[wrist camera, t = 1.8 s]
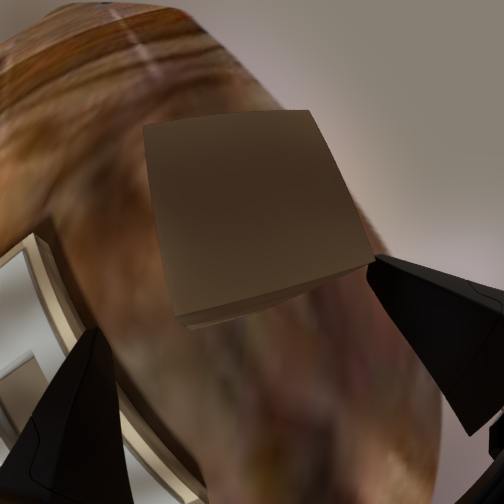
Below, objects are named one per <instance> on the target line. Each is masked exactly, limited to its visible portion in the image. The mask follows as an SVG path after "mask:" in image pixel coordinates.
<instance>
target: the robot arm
mask: <svg viewBox="0 0 504 504" xmlns="http://www.w3.org/2000/svg"><path fill="white" fill-rule="evenodd" d="M374 257H375V260H376V261H374V262H372V263H370V264H368V269H367V274H366V279H367V282H368V284H369V285H370V287H371V288H372V290H373V291H374V293H375V295H376V296H377V298H378V299H379V301H380V303H381V304H382V306H383V308H384V309H385V311H386V312H387V314H388V315H389V317H390V318H391V319H392V321H393V322H394V323H395V325H396V326H397V327H398V329H399V330H400V332H401V333H402V334H403V336H404V337H405V339H406V340H407V341H408V343H409V344H410V346H411V347H412V348H413V350H414V351H415V353H416V354H417V355H418V357H419V358H420V360H421V361H422V363H423V364H424V366H425V367H426V369H427V370H428V372H429V373H430V375H431V376H432V378H433V379H434V381H435V382H436V384H437V385H438V387H439V388H440V390H441V391H442V393H443V394H444V396H445V398H446V400H447V401H448V403H449V404H450V406H451V408H452V409H453V411H454V412H455V414H456V416H457V417H458V419H459V421H460V422H461V424H462V426H463V428H464V429H465V431H466V433H467V434H468V436H472V435H473V434H474V433H475V432H476V431H478V430H479V429H480V428H481V427H482V426H483V425H485V424H486V423H487V422H488V421H489V420H490V419H491V418H492V417H493V416H494V415H495V414H496V413H497V412H498V411H500V409H501V410H502V412H501V413H500V415H499V416H498V417H497V419H496V420H495V421H494V422H493V424H492V425H491V426H490V427H489V454H490V456H491V457H492V458H493V460H494V462H493V463H492V464H491V465H490V466H489V468H488V469H487V470H486V471H485V472H484V474H483V475H482V476H481V477H480V478H479V479H478V480H477V481H476V482H475V484H474V485H473V486H472V487H471V488H470V489H469V490H468V491H467V492H466V493H465V494H464V495H463V496H462V497H461V498H460V499H459V500H458V501H457V502H456V503H455V504H504V291H503V290H499V289H496V288H492V287H488V286H485V285H482V284H478V283H475V282H472V281H469V280H465V279H462V278H460V277H456V276H453V275H450V274H446V273H444V272H440V271H437V270H434V269H431V268H427V267H424V266H421V265H417V264H414V263H411V262H407V261H404V260H401V259H397V258H394V257H390V256H387V255H383V254H377V255H374ZM0 504H134V500H133V496H132V491H131V486H130V481H129V476H128V471H127V465H126V459H125V452H124V445H123V438H122V429H121V420H120V408H119V397H118V391H117V385H116V379H115V372H114V366H113V358H112V351H111V348H110V345H109V343H108V342H107V340H106V338H105V336H104V334H103V332H102V330H101V329H100V328H99V327H91V328H87V329H86V330H85V331H84V332H83V334H82V335H81V336H80V338H79V339H78V341H77V342H76V344H75V345H74V347H73V348H72V350H71V351H70V353H69V354H68V355H67V357H66V358H65V360H64V362H63V363H62V365H61V366H60V368H59V369H58V371H57V372H56V374H55V375H54V377H53V379H52V380H51V382H50V383H49V385H48V387H47V388H46V390H45V392H44V393H43V395H42V397H41V398H40V400H39V402H38V403H37V405H36V407H35V409H34V410H33V412H32V416H30V417H29V419H28V421H27V423H26V425H25V426H24V428H23V430H22V432H21V434H20V435H19V437H18V439H17V441H16V442H15V444H14V446H13V447H12V449H11V451H10V452H9V454H8V456H7V457H6V459H5V460H4V462H3V464H2V465H1V467H0Z"/></svg>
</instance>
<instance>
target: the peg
mask: <svg viewBox="0 0 504 504" xmlns="http://www.w3.org/2000/svg"><path fill="white" fill-rule="evenodd" d="M143 134H144V145H145V154H146V163H147V171H148V179H149V186H150V193H151V200H152V207H153V213H154V219H155V225H156V230H157V236H158V241H159V247H160V252H161V257H162V262H163V266H164V271H165V276H166V280H167V285H168V289H169V294H170V298H171V302H172V306H173V310H174V314H175V317H176V318H177V319H178V320H179V321H180V322H182V323H183V324H184V325H185V326H186V327H187V328H188V329H189V330H190V331H191V330H195V329H199V328H203V327H207V326H211V325H215V324H218V323H222V322H226V321H230V320H234V319H237V318H241V317H245V316H248V315H252V314H254V313H257V312H260V311H262V310H265V309H267V308H270V307H272V306H274V305H277V304H279V303H282V302H284V301H287V300H289V299H291V298H294V297H296V296H299V295H301V294H303V293H306V292H308V291H310V290H313V289H315V288H317V287H319V286H322V285H324V284H326V283H328V282H331V281H333V280H335V279H337V278H340V277H342V276H344V275H346V274H348V273H351V272H353V271H355V270H357V269H359V268H361V267H363V266H366V265H368V264H370V263H372V262H374V261H376V260H375V257H374V254H373V251H372V248H371V246H370V243H369V240H368V237H367V235H366V232H365V230H364V227H363V224H362V222H361V219H360V217H359V214H358V212H357V209H356V207H355V205H354V202H353V200H352V197H351V195H350V193H349V190H348V188H347V186H346V184H345V181H344V179H343V177H342V175H341V173H340V170H339V168H338V166H337V164H336V162H335V160H334V158H333V156H332V154H331V152H330V149H329V148H328V145H327V143H326V141H325V140H324V137H323V136H322V134H321V132H320V130H319V128H318V126H317V124H316V122H315V120H314V118H313V117H312V115H311V113H310V111H309V110H272V111H252V112H237V113H226V114H216V115H207V116H199V117H192V118H185V119H178V120H172V121H166V122H160V123H155V124H150V125H145V126H143Z"/></svg>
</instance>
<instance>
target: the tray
mask: <svg viewBox="0 0 504 504" xmlns="http://www.w3.org/2000/svg"><path fill="white" fill-rule="evenodd" d="M85 330H86V329H85V327H84V325H83V323H82V321H81V319H80V317H79V315H78V313H77V311H76V309H75V307H74V305H73V303H72V301H71V298H70V296H69V294H68V292H67V290H66V287H65V285H64V283H63V280H62V278H61V275H60V273H59V271H58V268H57V265H56V263H55V260H54V258H53V255H52V252H51V249H50V247H49V245H48V244H47V243H46V242H44V241H43V240H42V239H41V238H39V237H38V236H37V235H35V234H34V233H32V234H30V235H29V236H28V237H26V238H25V239H24V240H22V241H21V242H20V243H19V244H17V245H16V246H15V247H14V248H12V249H11V250H10V251H9V252H7V253H6V254H5V255H4V256H3V257H1V258H0V466H1V465H2V464H3V462H4V460H5V459H6V457H7V456H8V454H9V452H10V451H11V449H12V447H13V446H14V444H15V442H16V441H17V439H18V437H19V435H20V434H21V432H22V430H23V428H24V426H25V425H26V423H27V421H28V419H29V417H30V416H32V412H33V410H34V409H35V407H36V405H37V403H38V402H39V400H40V398H41V397H42V395H43V393H44V392H45V390H46V388H47V387H48V385H49V383H50V382H51V380H52V379H53V377H54V375H55V374H56V372H57V371H58V369H59V368H60V366H61V365H62V363H63V362H64V360H65V358H66V357H67V355H68V354H69V353H70V351H71V350H72V348H73V347H74V345H75V344H76V342H77V341H78V339H79V338H80V336H81V335H82V334H83V332H84V331H85ZM116 385H117V391H118V397H119V408H120V420H121V429H122V438H123V445H124V452H125V459H126V465H127V471H128V476H129V481H130V486H131V491H132V496H133V500H134V504H209V500H208V493H207V489H206V488H205V487H204V486H203V485H202V484H201V483H200V482H199V481H198V480H197V479H196V478H195V477H194V476H193V475H192V474H191V473H190V472H189V471H188V470H187V469H186V468H185V467H184V466H183V465H182V464H181V463H180V462H179V461H178V459H177V458H176V457H175V456H174V455H173V454H172V453H171V452H170V451H169V450H168V448H167V447H166V446H165V445H164V444H163V443H162V441H161V440H160V439H159V438H158V437H157V436H156V434H155V433H154V432H153V431H152V429H151V428H150V427H149V426H148V424H147V423H146V422H145V421H144V419H143V418H142V417H141V415H140V414H139V413H138V411H137V410H136V409H135V407H134V406H133V405H132V403H131V402H130V400H129V399H128V398H127V396H126V395H125V393H124V392H123V390H122V389H121V387H120V386H119V384H118V383H117V381H116Z"/></svg>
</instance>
